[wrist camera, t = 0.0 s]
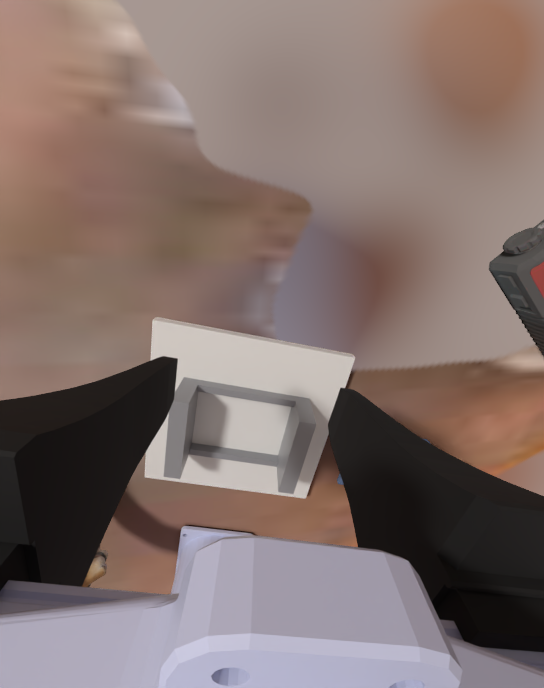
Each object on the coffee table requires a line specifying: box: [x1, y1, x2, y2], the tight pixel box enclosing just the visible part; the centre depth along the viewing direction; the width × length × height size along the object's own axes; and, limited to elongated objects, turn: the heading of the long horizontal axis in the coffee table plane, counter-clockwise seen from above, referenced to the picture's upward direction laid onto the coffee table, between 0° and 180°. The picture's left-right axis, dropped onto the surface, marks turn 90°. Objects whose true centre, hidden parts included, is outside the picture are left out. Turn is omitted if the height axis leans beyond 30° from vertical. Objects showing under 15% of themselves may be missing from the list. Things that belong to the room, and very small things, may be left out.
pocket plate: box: [145, 317, 355, 499], centre depth 22 cm, size 16×16×4 cm
